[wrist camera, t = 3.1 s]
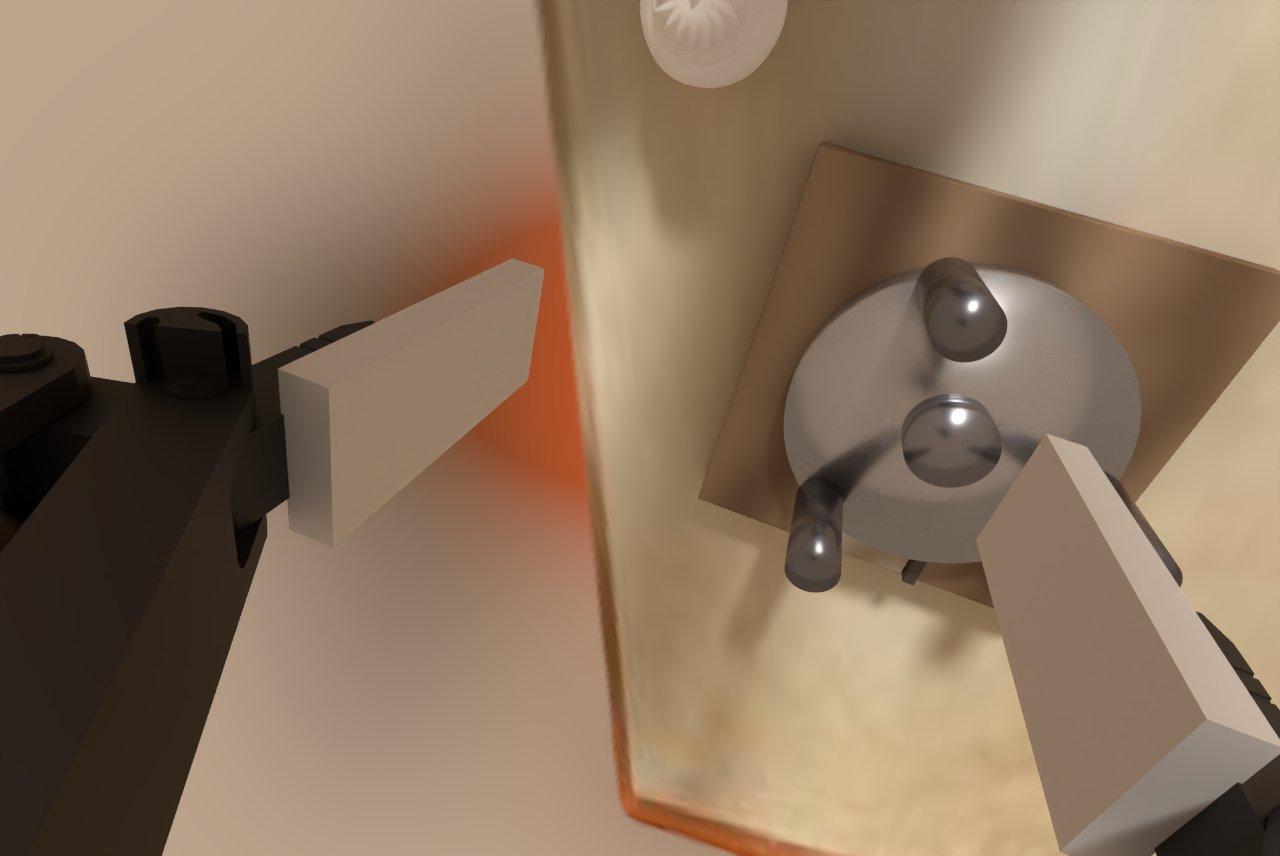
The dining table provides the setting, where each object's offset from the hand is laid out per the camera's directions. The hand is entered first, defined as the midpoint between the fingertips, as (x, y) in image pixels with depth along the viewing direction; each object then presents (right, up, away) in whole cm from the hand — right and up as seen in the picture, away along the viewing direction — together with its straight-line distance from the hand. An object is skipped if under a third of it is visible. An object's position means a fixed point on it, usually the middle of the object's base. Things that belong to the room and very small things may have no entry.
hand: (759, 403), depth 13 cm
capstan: (+13, 0, +18) cm, 22 cm away
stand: (+13, +1, +21) cm, 24 cm away
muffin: (+2, +18, +16) cm, 24 cm away
